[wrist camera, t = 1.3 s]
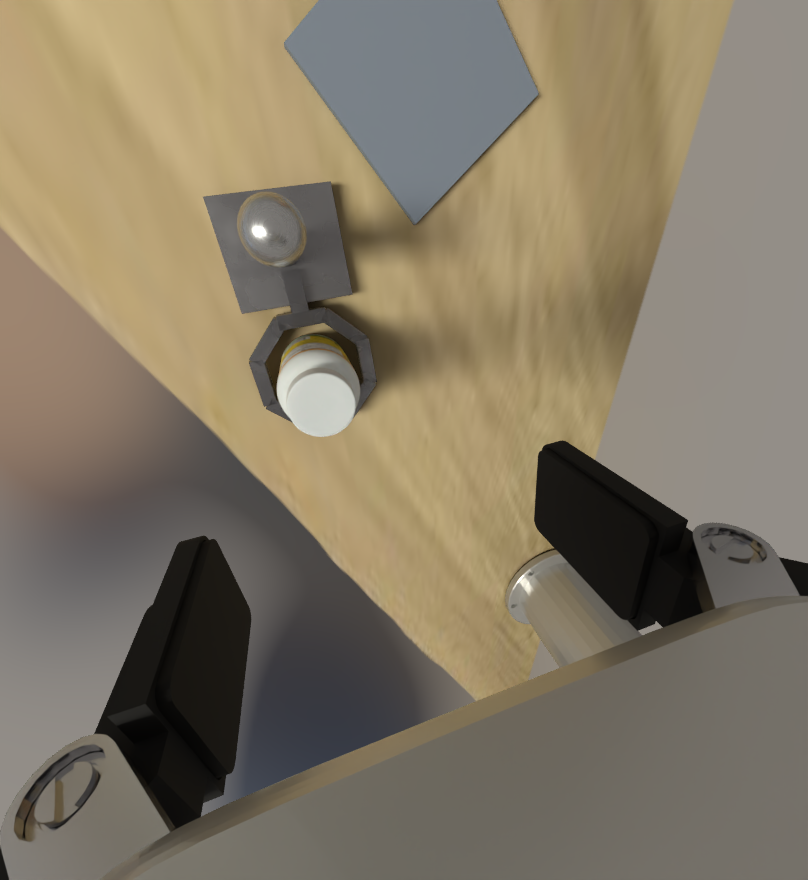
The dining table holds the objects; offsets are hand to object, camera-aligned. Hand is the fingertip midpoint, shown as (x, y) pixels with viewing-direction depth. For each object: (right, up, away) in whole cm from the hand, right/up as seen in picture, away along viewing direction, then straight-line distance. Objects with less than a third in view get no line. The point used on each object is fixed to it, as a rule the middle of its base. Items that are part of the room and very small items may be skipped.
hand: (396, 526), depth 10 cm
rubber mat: (+1, +26, +13) cm, 29 cm away
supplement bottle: (-7, +8, +19) cm, 22 cm away
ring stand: (-8, +12, +17) cm, 22 cm away
